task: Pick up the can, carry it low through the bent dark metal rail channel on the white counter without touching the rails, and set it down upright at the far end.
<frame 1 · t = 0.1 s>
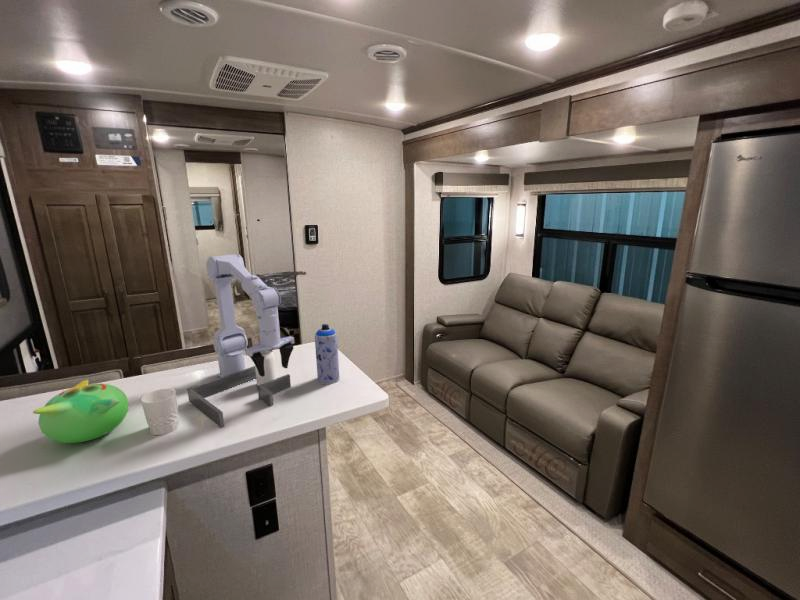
hand: (273, 371, 113), 10 cm above the counter, tool pointing down, fingers open, 7 cm apart
can: (267, 385, 127), on the counter
aerosol can: (328, 379, 130), on the counter
toy bird: (91, 437, 99), on the counter
white cup: (164, 428, 102), on the counter
rail channel: (241, 397, 118), on the counter
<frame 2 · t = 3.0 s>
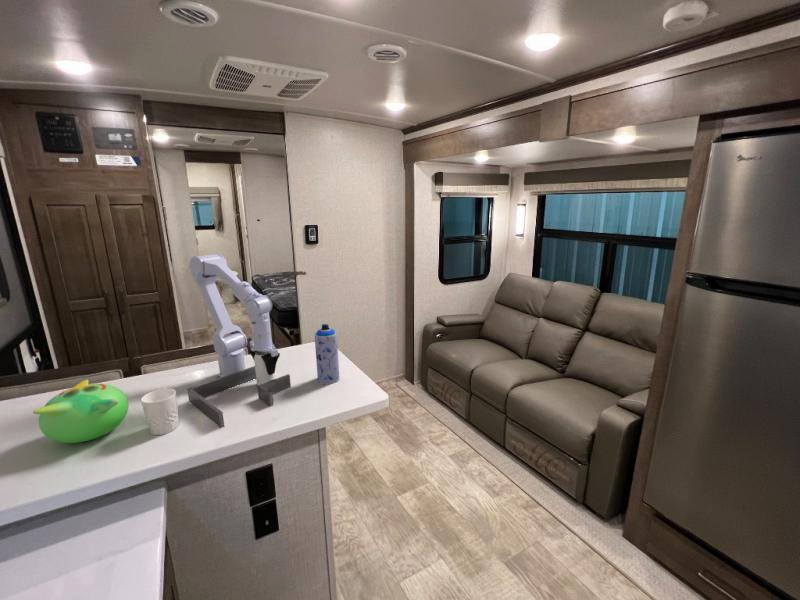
hand: (265, 371, 126), 5 cm above the counter, tool pointing down, fingers closed on can, 6 cm apart
can: (267, 385, 127), on the counter, touching gripper
everything else where it was.
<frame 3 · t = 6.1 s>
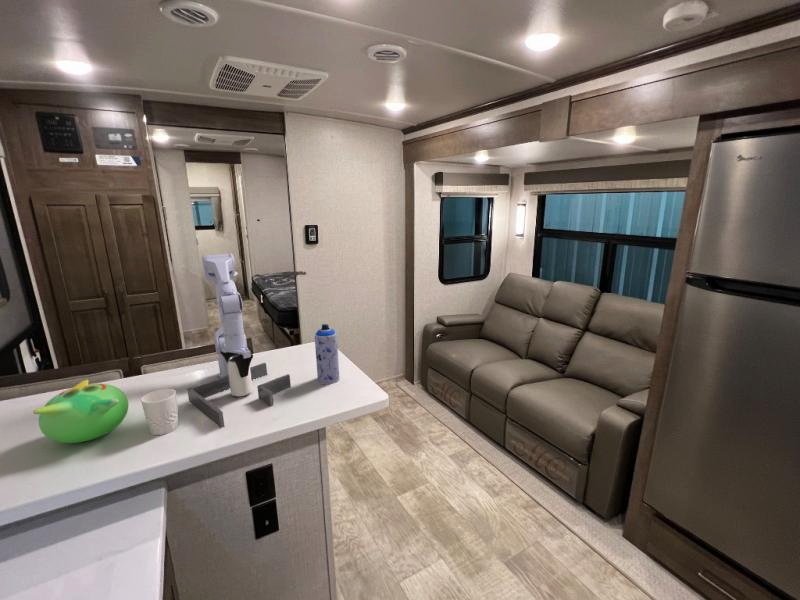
hand: (239, 373, 118), 7 cm above the counter, tool pointing down, fingers closed on can, 6 cm apart
can: (242, 392, 120), on the counter, touching gripper
everything else where it was.
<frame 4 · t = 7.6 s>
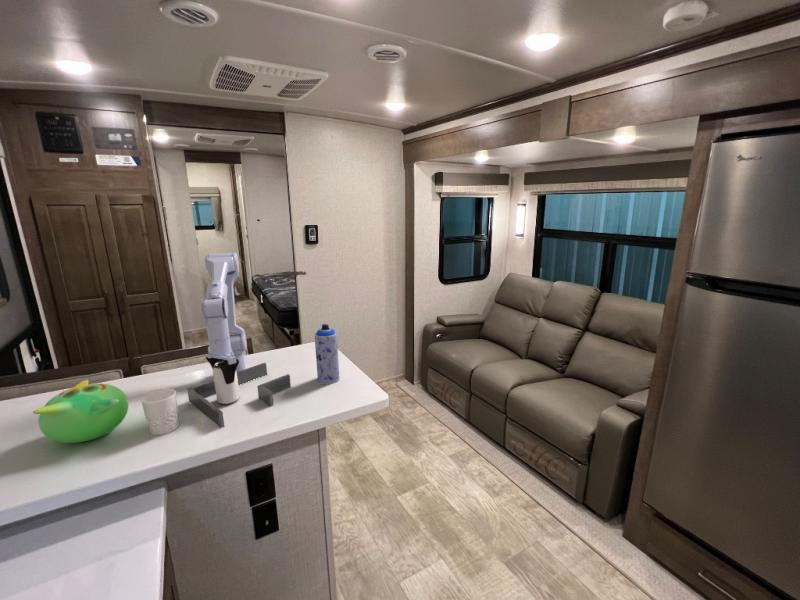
hand: (224, 379, 114), 7 cm above the counter, tool pointing down, fingers closed on can, 6 cm apart
can: (228, 399, 116), on the counter, touching gripper
everything else where it was.
when the fingers open (7 cm above the counter, at t = 8.8 s): can stays where it is, on the counter.
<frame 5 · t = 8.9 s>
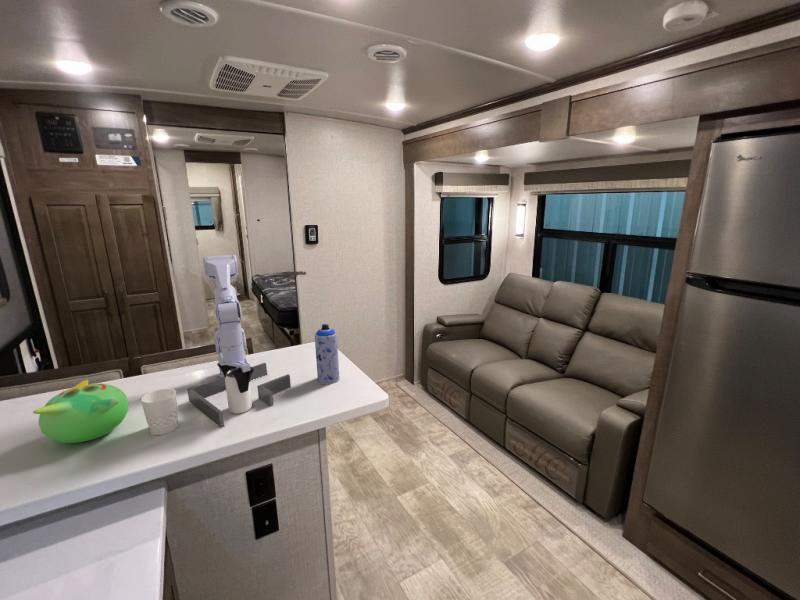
hand: (237, 387, 109), 7 cm above the counter, tool pointing down, fingers open, 7 cm apart
can: (240, 408, 112), on the counter, touching gripper
everything else where it was.
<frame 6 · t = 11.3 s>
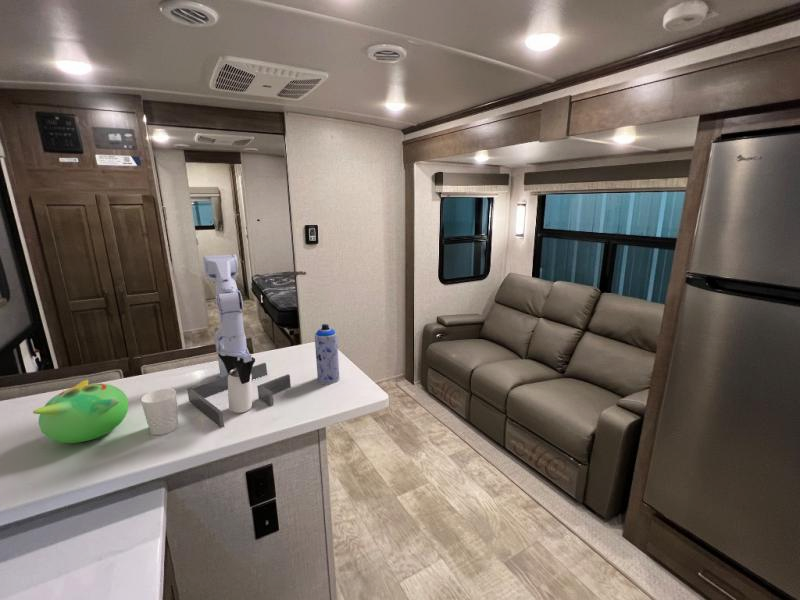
hand: (239, 378, 108), 10 cm above the counter, tool pointing down, fingers open, 7 cm apart
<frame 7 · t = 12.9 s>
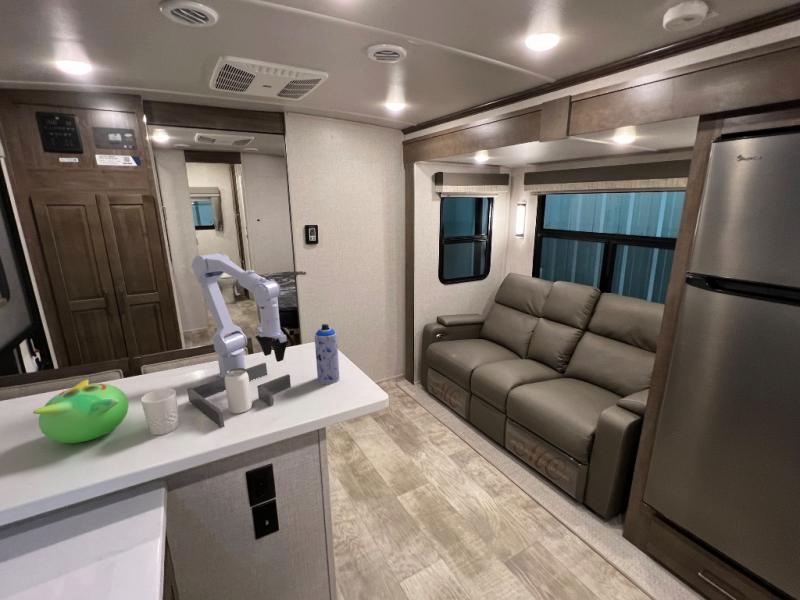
hand: (273, 357, 123), 10 cm above the counter, tool pointing down, fingers open, 7 cm apart
can: (240, 409, 112), on the counter
everything else where it was.
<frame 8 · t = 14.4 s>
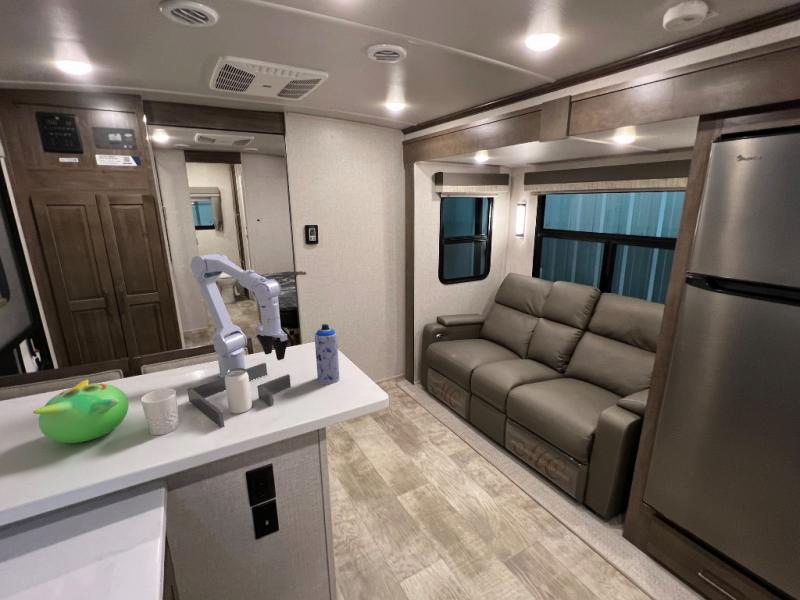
hand: (274, 356, 124), 10 cm above the counter, tool pointing down, fingers open, 7 cm apart
nothing on the counter moved.
at the end: can inside the target area (1.8 cm from its centre), on the counter; can tilted 0°; can touching counter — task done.
